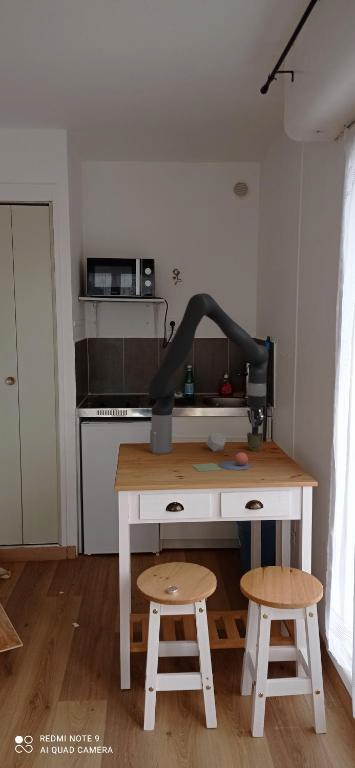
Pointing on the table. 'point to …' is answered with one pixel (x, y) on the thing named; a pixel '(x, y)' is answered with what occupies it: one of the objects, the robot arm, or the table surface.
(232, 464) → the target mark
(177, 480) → the table surface
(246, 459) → the ball
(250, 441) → the cup
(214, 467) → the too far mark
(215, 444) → the die
